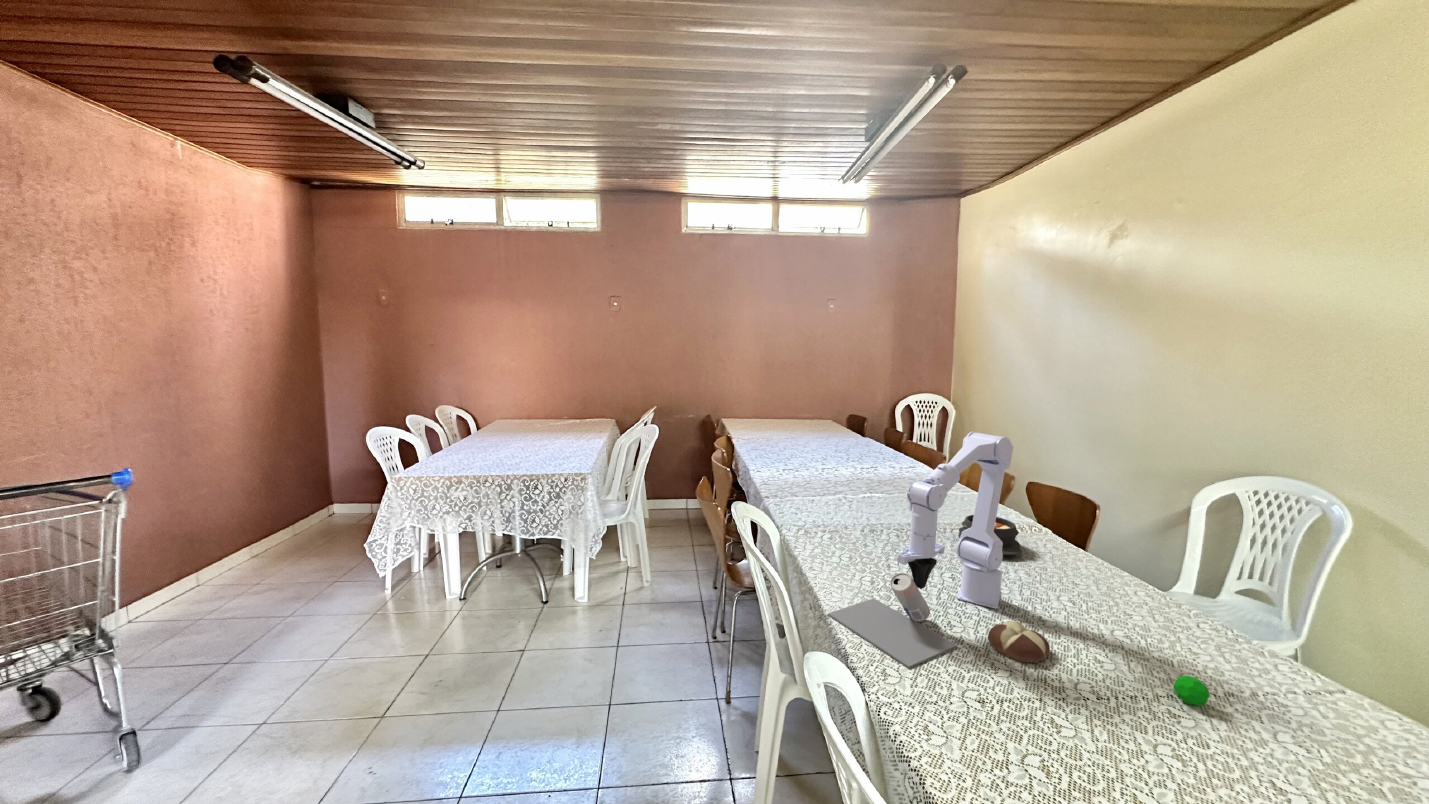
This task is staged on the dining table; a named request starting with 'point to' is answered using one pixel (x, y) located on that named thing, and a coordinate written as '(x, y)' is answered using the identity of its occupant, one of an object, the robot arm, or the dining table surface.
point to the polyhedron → (1191, 690)
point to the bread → (1018, 642)
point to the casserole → (1000, 534)
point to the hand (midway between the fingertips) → (919, 586)
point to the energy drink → (910, 597)
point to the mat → (892, 632)
